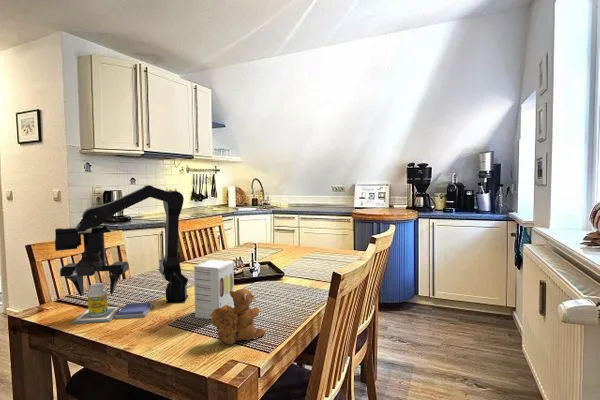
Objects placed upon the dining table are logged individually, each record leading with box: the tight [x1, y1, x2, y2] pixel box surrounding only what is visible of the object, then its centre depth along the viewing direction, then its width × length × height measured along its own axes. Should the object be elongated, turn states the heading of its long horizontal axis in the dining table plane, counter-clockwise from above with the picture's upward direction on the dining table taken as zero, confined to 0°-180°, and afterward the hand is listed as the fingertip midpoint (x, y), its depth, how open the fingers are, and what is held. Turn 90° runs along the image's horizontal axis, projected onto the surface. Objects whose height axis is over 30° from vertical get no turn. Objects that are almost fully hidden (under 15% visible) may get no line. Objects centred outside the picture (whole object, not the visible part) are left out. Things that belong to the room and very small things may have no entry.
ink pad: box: [114, 302, 154, 320], centre depth 117 cm, size 9×9×2 cm
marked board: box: [70, 306, 123, 325], centre depth 114 cm, size 11×11×1 cm
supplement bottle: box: [87, 282, 109, 317], centre depth 114 cm, size 5×5×10 cm
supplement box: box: [193, 259, 235, 320], centre depth 115 cm, size 10×9×17 cm
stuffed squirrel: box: [209, 288, 266, 345], centre depth 98 cm, size 10×14×13 cm
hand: (96, 294), depth 114 cm, fingers open, 9 cm apart
